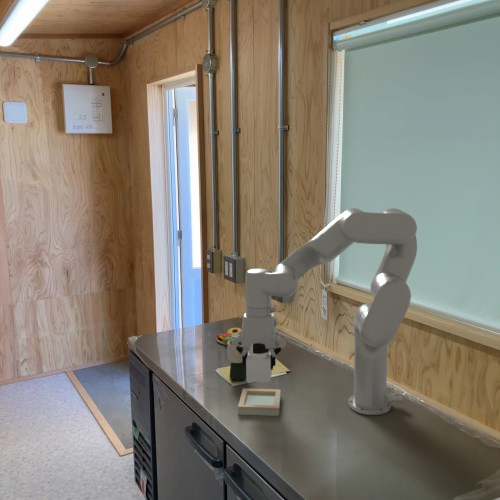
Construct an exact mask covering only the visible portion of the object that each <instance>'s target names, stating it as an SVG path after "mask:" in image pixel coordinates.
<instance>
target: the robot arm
mask: <svg viewBox="0 0 500 500" xmlns="http://www.w3.org/2000/svg"><path fill="white" fill-rule="evenodd" d="M417 231H418V226H417V222H416V220H415V218H413V217H412V216H411V215H410V214H409V213H407V212H405V211H403V210H401V209H398V208H387V209H386V210H384V211H383V212H369V211H368V212H367V211H366V212H365V211H363V210H361V209H359V208H352V207H351V208H348V209H346V210H344V211H343V212H342V213H341V214H339V215H338V216H337V217H335V219H334V220H332V221H331V222H330V223H329V224H328V225H327V226H325V227H324V228H323V229H322V230H321V231H320V232H318V233H317V234H316V235H315V236H313V237H312V238H311V239H310V240H308V241H307V242H306V243H304V244H303V245H302V246H299V248H298V249H296V250H295V251H293V252H292V253H290V254H289V255H288V256H287V257H286V258H284V259H283V260H282V261H281V262H280V263H279V264H278V265H277V266H276V267H275V268H274V269H273V270H272V272H270V270H269V269H265V268H251V269H248V270H247V271H246V273H245V275H244V276H245V278H244V280H245V287H244V288H245V313H243V316H242V323H241V324H242V325H241V330H242V334H241V335H239V336H238V337H237V338H235V339H234V340H233V341H232V345H233V346H234V347H235V348H236V350H237V351H238V352H239V353H240V354H241V355H242V365H244V368H245V369H246V359H247V355H248V353H247V351H249V349H250V348H251V345H252V344H255V343H261V344H264V345H265V347H266V349H269V351H270V353H271V357H270V358H271V370H272V371H273V370H274V367H275V366H276V365H277V363H276V360H277V359H276V357H277V355H278V354H279V353H280V352H281V351H282V350H283V349H284V348H285V347H286V345H287V342H286V341H285V340H284V339H283V338H282V337H280V336H279V335H278V334H277V326H276V319H275V315H274V313H276V312H277V307H276V306H273V305H272V296H273V297H279V298H288V297H292V296H293V295H294V294H295V293H296V292H297V290H298V287H299V286H298V285H299V283H298V280H300V279H301V278H302V277H303V276H304V275H306V274H307V273H308V272H310V270H312V269H314V268H315V267H318V266H321V265H326V264H328V263H330V262H333V261H335V260H336V258H337V257H339V255H341V254H342V253H344V251H346V250H347V249H348V248H349V247H350V246H352V245H353V244H354V243H357V244H365V245H367V244H370V245H386V246H385V251H384V254H383V256H382V259H381V262H380V264H379V266H378V268H377V270H376V272H375V275H374V276H373V278H372V281H371V283H370V293H371V295H372V297H373V300H372V302H367V303H364V304H362V305H360V306H359V307H358V308H357V309H356V311H355V313H354V317H353V333H354V334H353V335H354V337H353V338H354V361H353V362H354V363H353V364H354V365H353V366H354V370H353V394H352V395H351V396H350V397H349V398H348V402H347V403H348V407H349V408H350V409H351V410H352V411H354V412H356V413H359V414H361V415H367V416H381V415H384V414H387V413H388V412H390V410H391V408H392V403H395V404H403V396H401V395H398V394H397V393H396V392H394V393H391V392H390V393H389V392H388V391H387V380H388V379H387V372H388V351H389V350H388V347H389V346H388V345H389V344H390V343H392V341H393V340H394V339H395V337H396V335H397V333H398V331H399V329H400V326H401V325H402V323H403V321H404V318H405V316H406V314H407V311H408V310H409V307H410V303H411V301H412V300H411V299H412V293H411V289H410V287H409V285H408V284H407V280H408V279H409V276H410V273H411V271H412V267H413V266H414V264H415V260H416V257H417V251H418V240H417V236H416V235H417V234H416V233H417ZM241 340H242V346H243V347H244V348H242V347H241V346H240V345H239V344H238V342H239V341H241ZM276 343H278V344H279V345H278V346H277V347H276ZM397 395H398V396H397Z"/></svg>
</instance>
